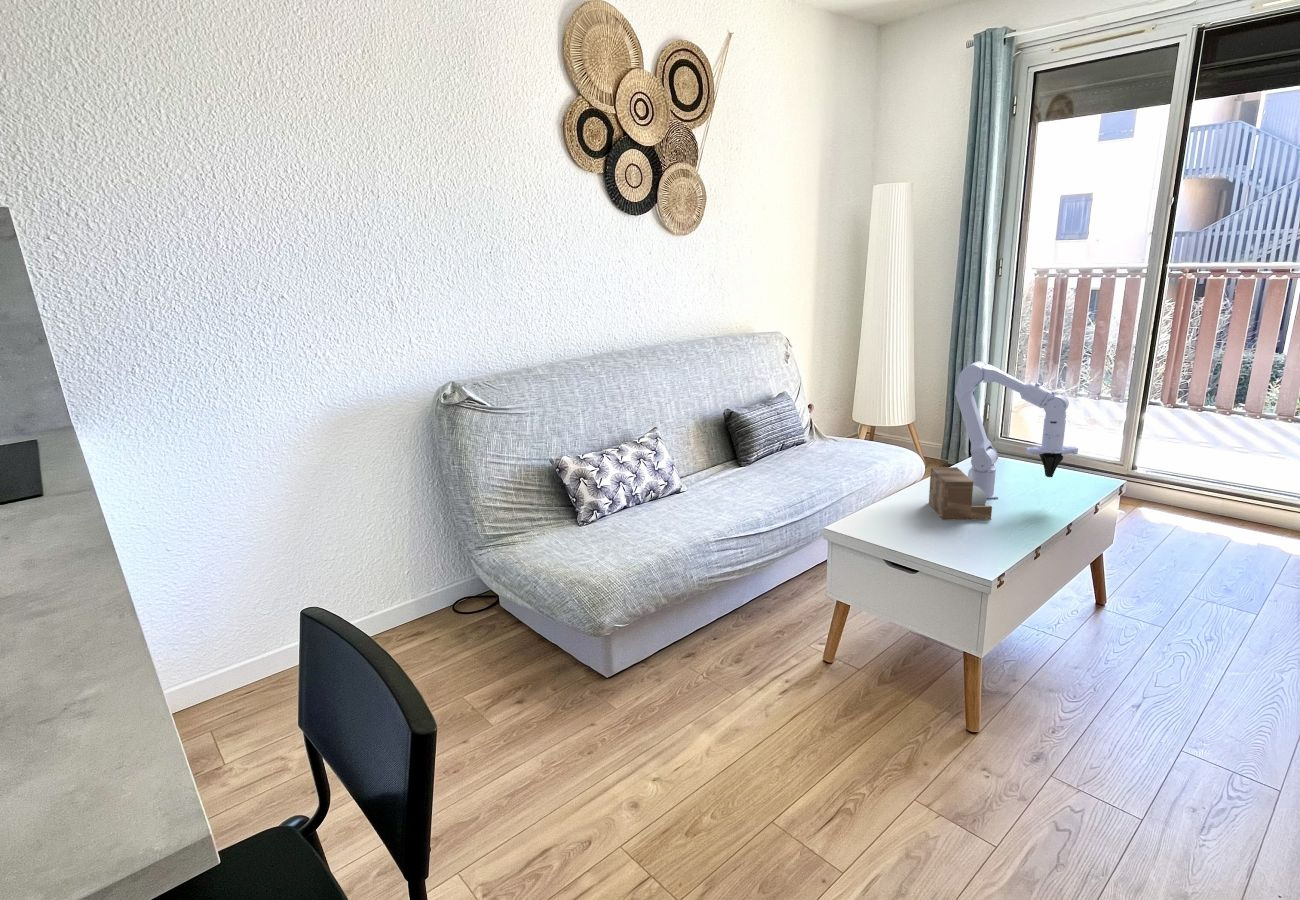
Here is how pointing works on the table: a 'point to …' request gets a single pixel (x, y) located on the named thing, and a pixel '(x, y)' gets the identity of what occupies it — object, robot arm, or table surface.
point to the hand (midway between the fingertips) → (1048, 476)
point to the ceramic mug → (978, 497)
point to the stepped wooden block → (954, 495)
